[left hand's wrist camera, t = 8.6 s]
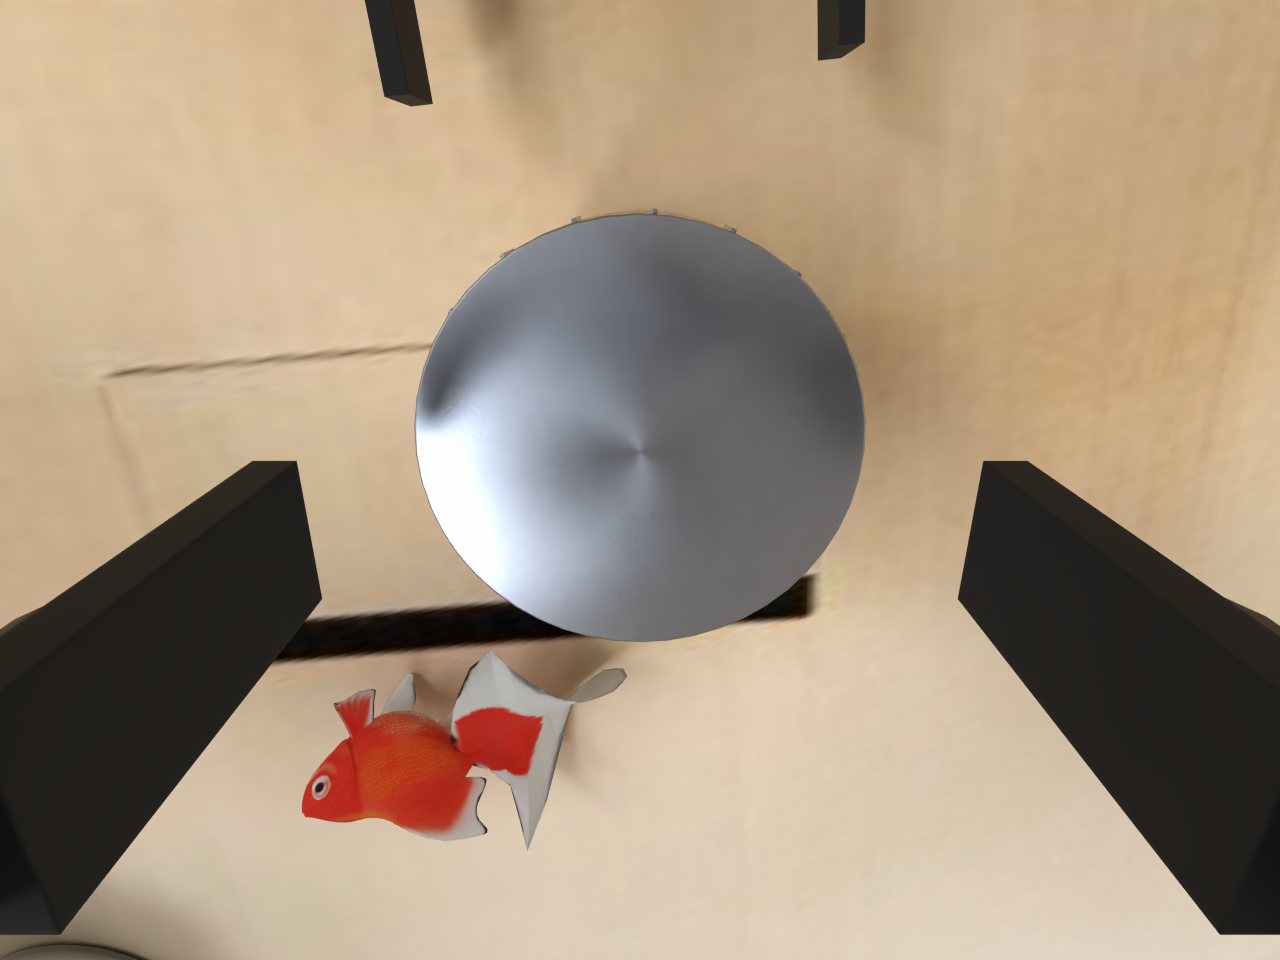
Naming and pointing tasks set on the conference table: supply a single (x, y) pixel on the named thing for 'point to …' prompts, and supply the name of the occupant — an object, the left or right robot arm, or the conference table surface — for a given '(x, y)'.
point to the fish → (447, 753)
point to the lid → (640, 427)
